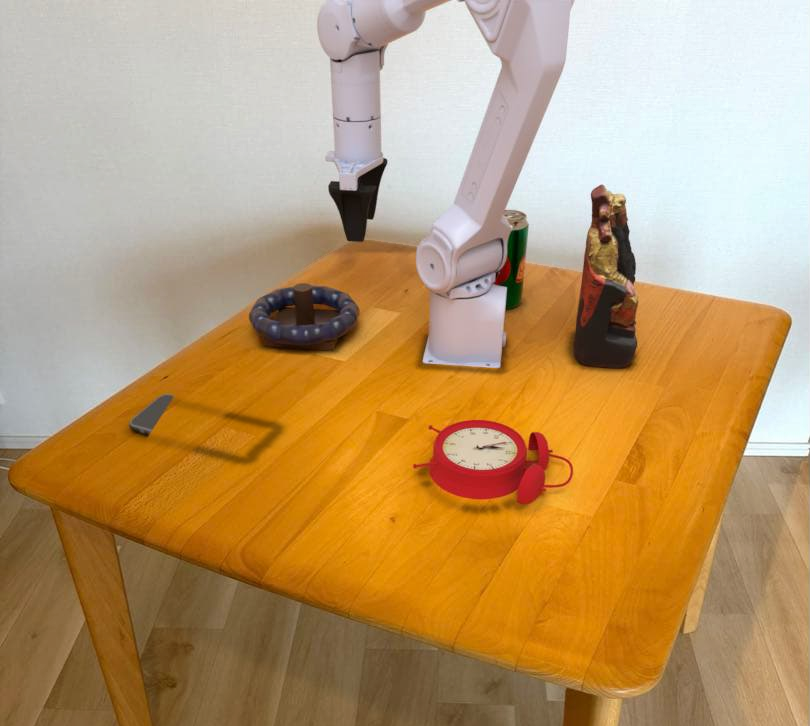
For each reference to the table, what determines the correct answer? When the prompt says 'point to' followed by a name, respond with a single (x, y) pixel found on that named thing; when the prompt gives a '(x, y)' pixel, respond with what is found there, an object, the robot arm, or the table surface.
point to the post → (303, 317)
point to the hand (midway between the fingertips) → (360, 229)
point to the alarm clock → (489, 461)
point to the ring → (304, 333)
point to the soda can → (514, 258)
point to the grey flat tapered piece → (150, 415)
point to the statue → (607, 287)
